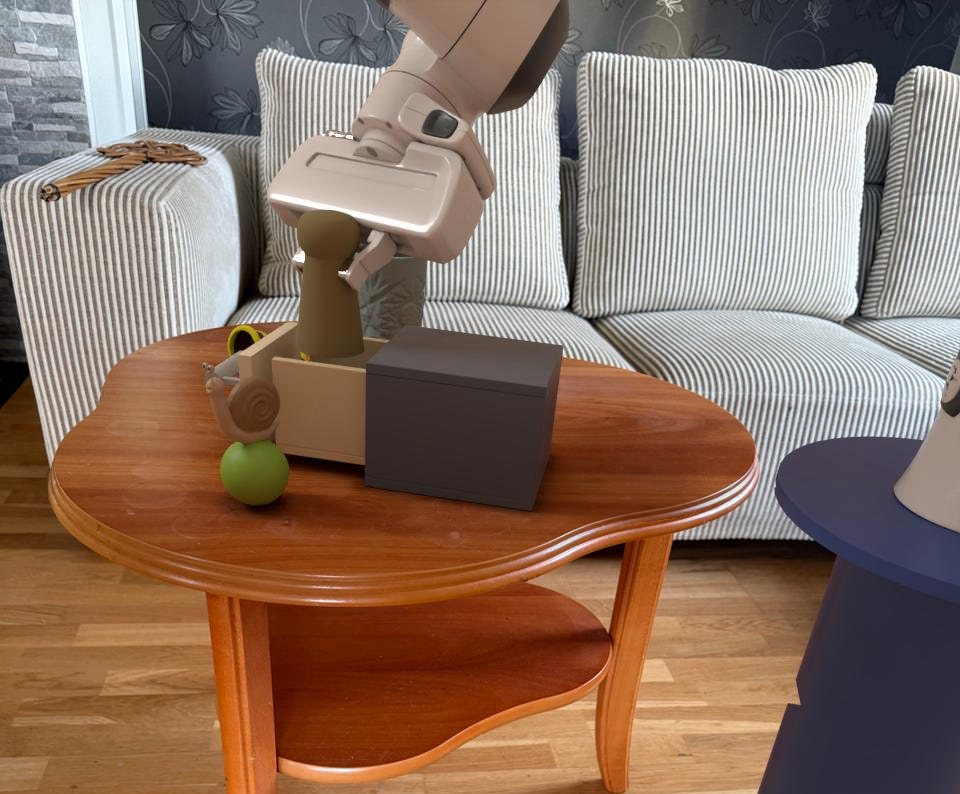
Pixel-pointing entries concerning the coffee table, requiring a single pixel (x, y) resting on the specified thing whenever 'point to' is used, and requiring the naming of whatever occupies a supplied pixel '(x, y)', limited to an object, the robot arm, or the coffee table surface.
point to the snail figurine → (249, 438)
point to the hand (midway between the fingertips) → (324, 277)
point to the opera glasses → (246, 339)
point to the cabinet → (461, 416)
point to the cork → (328, 286)
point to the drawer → (309, 394)
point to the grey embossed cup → (392, 296)
